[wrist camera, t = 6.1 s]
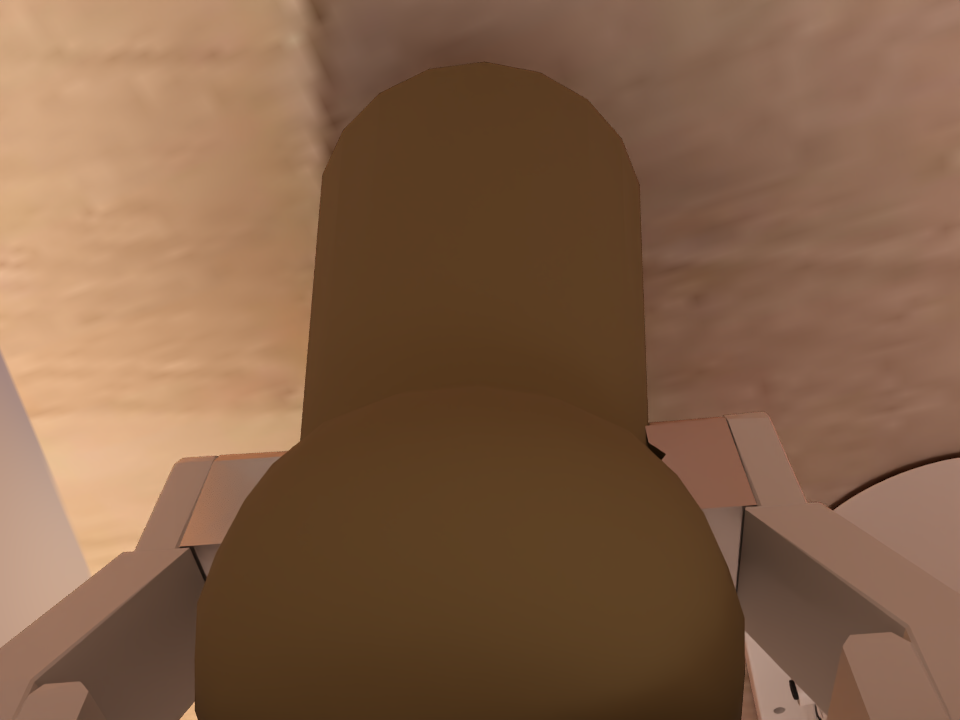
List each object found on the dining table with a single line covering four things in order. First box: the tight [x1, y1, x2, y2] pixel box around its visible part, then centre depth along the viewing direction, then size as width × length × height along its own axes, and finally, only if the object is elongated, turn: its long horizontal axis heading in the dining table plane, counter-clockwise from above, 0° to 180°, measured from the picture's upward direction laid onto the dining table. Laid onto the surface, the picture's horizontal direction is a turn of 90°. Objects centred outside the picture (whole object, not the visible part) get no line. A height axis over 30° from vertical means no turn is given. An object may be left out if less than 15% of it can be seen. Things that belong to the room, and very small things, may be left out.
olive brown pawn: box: [195, 62, 745, 720], centre depth 11 cm, size 6×6×11 cm
